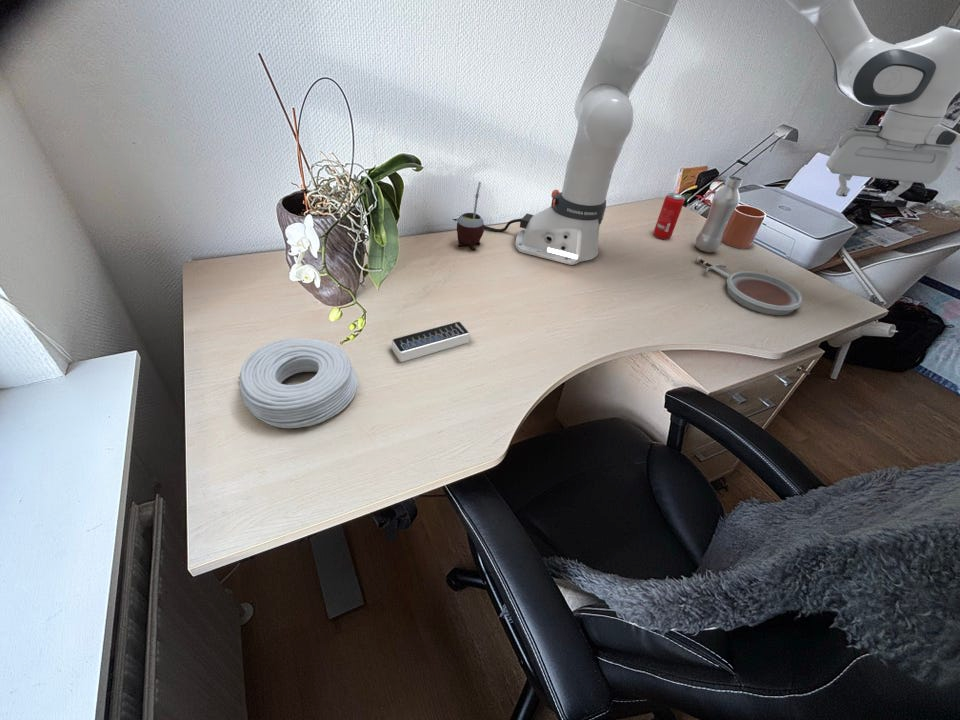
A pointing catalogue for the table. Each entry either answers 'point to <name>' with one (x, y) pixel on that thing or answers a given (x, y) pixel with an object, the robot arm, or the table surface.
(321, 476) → the table surface
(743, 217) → the mug
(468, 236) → the mate gourd
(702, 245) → the plastic bottle
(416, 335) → the multiport hub
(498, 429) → the table surface
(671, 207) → the beverage can
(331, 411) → the cable
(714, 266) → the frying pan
